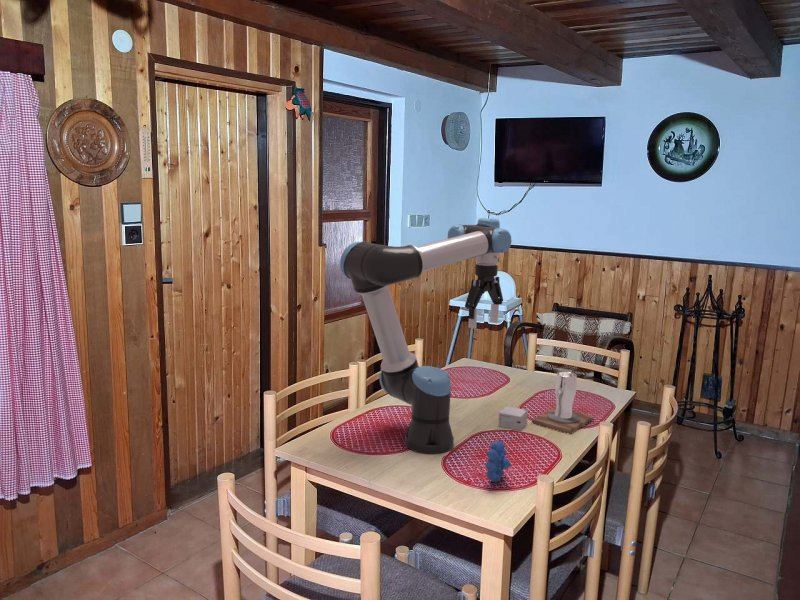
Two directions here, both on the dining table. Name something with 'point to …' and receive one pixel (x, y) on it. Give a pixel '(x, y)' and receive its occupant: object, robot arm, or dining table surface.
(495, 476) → the grapes
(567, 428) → the walnut board
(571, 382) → the beer glass
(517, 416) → the small box
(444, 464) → the dining table surface
